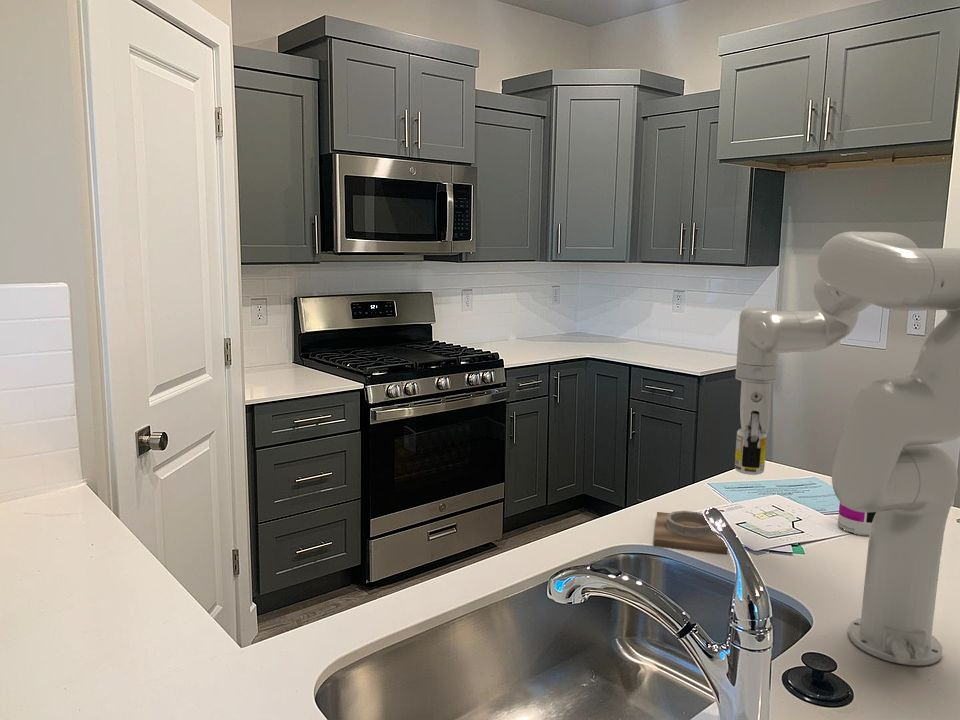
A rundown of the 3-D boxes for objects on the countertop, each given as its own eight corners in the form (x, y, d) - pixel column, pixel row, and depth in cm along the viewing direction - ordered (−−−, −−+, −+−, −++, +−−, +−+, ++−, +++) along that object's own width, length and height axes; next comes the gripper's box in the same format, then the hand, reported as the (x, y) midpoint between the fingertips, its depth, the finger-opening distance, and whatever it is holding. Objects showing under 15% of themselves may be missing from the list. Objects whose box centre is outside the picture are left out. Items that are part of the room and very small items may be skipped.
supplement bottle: (769, 472, 150) (773, 422, 148) (753, 477, 147) (757, 426, 145) (744, 465, 154) (748, 416, 153) (728, 470, 151) (732, 420, 149)
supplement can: (842, 534, 160) (848, 465, 157) (834, 520, 168) (840, 455, 165) (884, 538, 158) (891, 469, 156) (874, 524, 166) (881, 458, 163)
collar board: (726, 554, 149) (728, 537, 148) (653, 546, 152) (654, 529, 152) (723, 525, 164) (724, 509, 164) (656, 518, 168) (657, 503, 167)
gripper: (781, 381, 138) (773, 477, 141) (773, 366, 154) (766, 452, 157) (737, 378, 140) (731, 473, 143) (734, 364, 156) (728, 449, 159)
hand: (749, 461), depth 150 cm, fingers closed on supplement bottle, 5 cm apart
